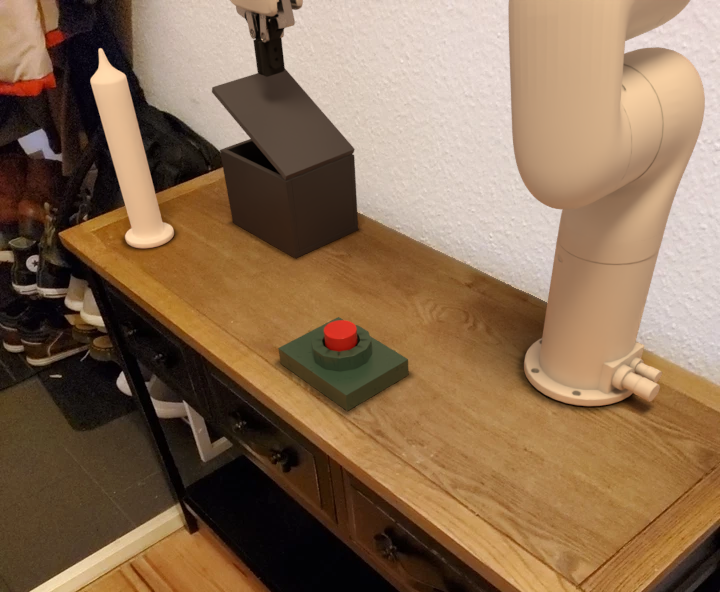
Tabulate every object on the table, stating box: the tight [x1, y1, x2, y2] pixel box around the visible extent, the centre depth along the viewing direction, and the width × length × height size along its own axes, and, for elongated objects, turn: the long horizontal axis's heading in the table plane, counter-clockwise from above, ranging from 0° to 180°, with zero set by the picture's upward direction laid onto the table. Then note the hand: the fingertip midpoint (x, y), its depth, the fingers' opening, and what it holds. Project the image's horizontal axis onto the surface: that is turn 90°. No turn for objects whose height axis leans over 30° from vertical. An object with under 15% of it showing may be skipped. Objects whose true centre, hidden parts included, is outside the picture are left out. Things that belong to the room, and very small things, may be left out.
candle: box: [89, 47, 175, 249], centre depth 101 cm, size 7×7×25 cm
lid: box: [211, 68, 356, 180], centre depth 99 cm, size 17×12×1 cm
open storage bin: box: [219, 138, 359, 259], centre depth 106 cm, size 16×12×11 cm
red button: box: [324, 319, 357, 352], centre depth 81 cm, size 4×4×2 cm
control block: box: [277, 316, 409, 412], centre depth 83 cm, size 12×9×4 cm
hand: (271, 72), depth 96 cm, fingers closed
